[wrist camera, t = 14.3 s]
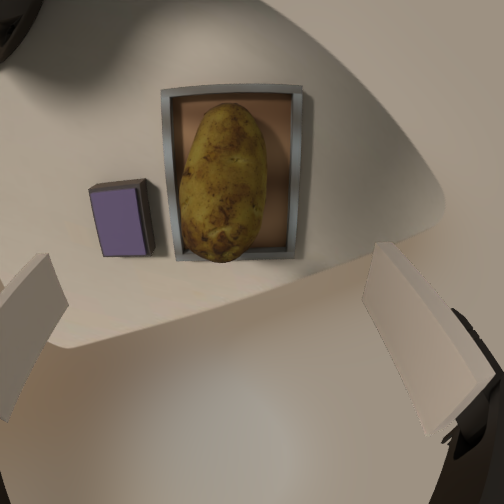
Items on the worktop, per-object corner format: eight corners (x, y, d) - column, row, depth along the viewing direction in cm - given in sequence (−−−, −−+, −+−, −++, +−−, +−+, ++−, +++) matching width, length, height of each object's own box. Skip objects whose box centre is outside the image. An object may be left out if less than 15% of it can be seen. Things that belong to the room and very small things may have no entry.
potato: (297, 131, 24) (320, 140, 17) (240, 242, 30) (241, 287, 23) (216, 95, 22) (206, 88, 15) (167, 213, 28) (145, 250, 21)
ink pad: (96, 183, 26) (86, 190, 24) (145, 178, 26) (137, 184, 24) (109, 248, 30) (102, 258, 28) (155, 247, 30) (149, 258, 28)
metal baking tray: (165, 91, 22) (160, 89, 21) (298, 87, 23) (302, 85, 21) (179, 253, 31) (176, 261, 29) (291, 250, 31) (294, 258, 30)
